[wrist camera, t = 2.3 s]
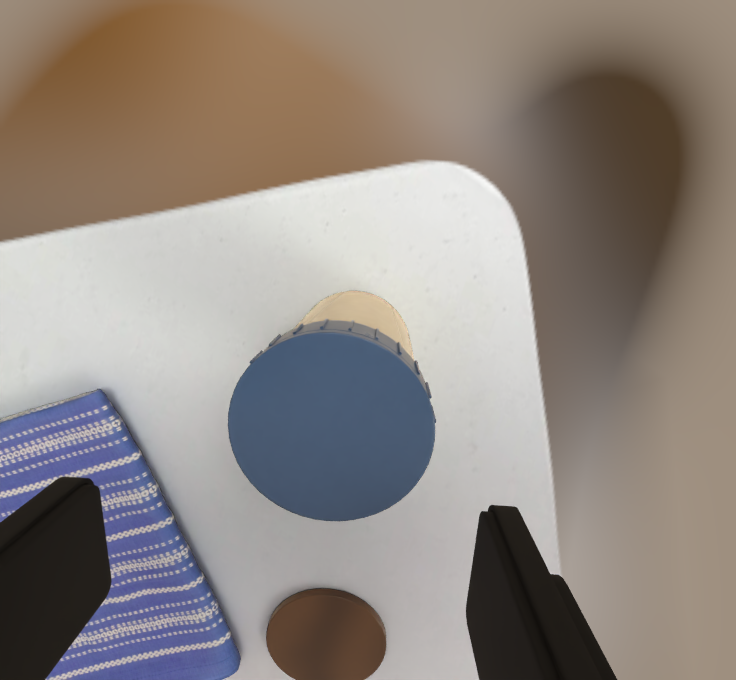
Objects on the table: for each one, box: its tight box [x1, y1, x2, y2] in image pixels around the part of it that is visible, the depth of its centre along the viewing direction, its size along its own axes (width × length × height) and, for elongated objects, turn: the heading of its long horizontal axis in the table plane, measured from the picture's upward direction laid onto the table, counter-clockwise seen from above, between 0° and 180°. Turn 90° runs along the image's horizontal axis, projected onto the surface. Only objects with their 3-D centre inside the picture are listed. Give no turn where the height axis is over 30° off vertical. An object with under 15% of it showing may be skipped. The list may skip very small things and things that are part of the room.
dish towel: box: [0, 389, 241, 680], centre depth 29 cm, size 17×24×3 cm
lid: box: [228, 319, 436, 521], centre depth 15 cm, size 7×7×2 cm
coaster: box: [266, 589, 386, 680], centre depth 31 cm, size 9×9×1 cm
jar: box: [294, 291, 415, 361], centre depth 20 cm, size 7×7×11 cm
